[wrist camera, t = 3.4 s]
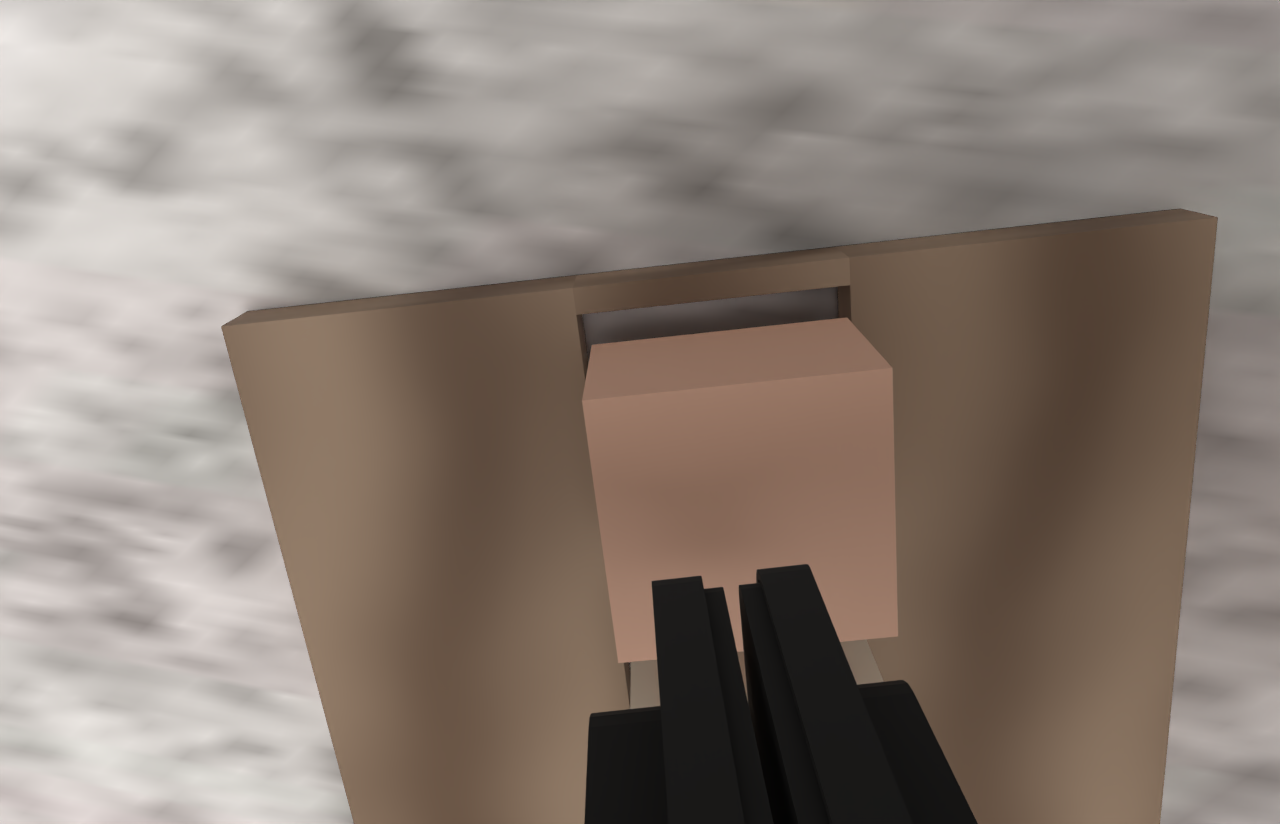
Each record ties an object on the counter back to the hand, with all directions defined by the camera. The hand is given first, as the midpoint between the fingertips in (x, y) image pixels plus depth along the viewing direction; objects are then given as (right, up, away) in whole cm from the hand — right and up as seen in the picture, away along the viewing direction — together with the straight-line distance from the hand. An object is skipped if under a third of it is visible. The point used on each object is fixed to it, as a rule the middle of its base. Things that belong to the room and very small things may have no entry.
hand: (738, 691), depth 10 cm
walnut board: (+1, -3, +11) cm, 11 cm away
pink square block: (+1, +2, +7) cm, 7 cm away
